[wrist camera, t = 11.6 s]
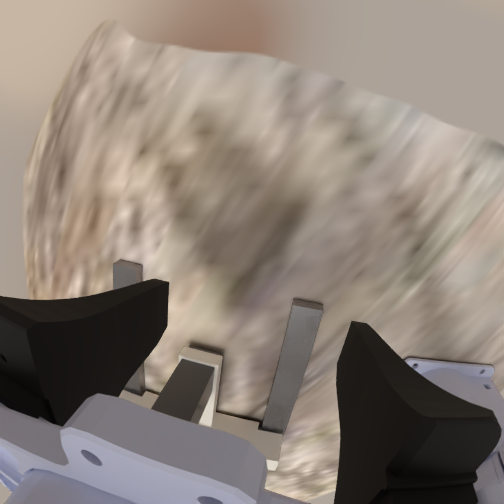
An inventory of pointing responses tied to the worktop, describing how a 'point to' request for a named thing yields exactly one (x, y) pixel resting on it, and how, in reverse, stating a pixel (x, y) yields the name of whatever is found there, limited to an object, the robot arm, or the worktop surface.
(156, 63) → the worktop surface
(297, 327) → the rails
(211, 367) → the pusher bar
